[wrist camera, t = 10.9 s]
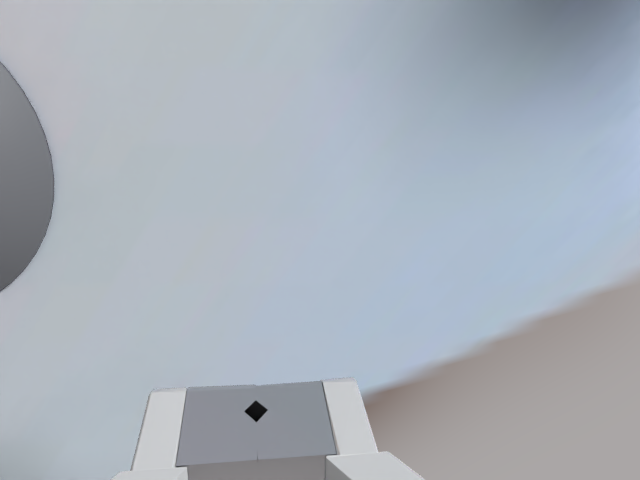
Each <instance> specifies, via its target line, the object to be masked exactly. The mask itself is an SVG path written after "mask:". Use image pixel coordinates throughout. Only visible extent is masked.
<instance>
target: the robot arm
mask: <svg viewBox="0 0 640 480" xmlns="http://www.w3.org/2000/svg"><path fill="white" fill-rule="evenodd" d="M111 480H425V479H424V478H422V477H421V476H420V475H419V474H417V473H416V472H415V471H413V470H412V469H411V468H409V467H408V466H407V465H406V464H404V463H403V462H402V461H400V460H399V459H398V458H396V457H395V456H394V455H392V454H391V453H390V452H378V449H377V446H376V443H375V440H374V436H373V433H372V430H371V427H370V424H369V420H368V417H367V414H366V410H365V408H364V404H363V401H362V398H361V394H360V391H359V388H358V385H357V381H356V380H355V379H354V378H353V377H347V378H336V379H325V380H321V381H313V382H298V383H282V384H267V385H233V386H206V387H189V388H186V387H183V388H165V389H153V391H152V392H151V393H150V395H149V397H148V401H147V405H146V409H145V413H144V417H143V421H142V425H141V430H140V434H139V438H138V442H137V446H136V450H135V454H134V458H133V462H132V466H131V470H130V471H124V472H118V473H117V474H116V475H115V476H114V477H113V478H112V479H111Z"/></svg>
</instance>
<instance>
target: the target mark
mask: <svg viewBox="0 0 640 480" xmlns="http://www.w3.org/2000/svg"><path fill="white" fill-rule="evenodd" d="M53 201H54V174H53V166H52V159H51V154H50V151H49V147H48V143H47V140H46V136H45V133H44V131H43V129H42V126H41V124H40V122H39V119H38V117H37V114H36V112H35V111H34V109H33V107H32V105H31V104H30V102H29V100H28V98H27V97H26V95H25V93H24V91H23V90H22V89H21V87H20V86H19V84H18V83H17V82H16V80H15V79H14V78H13V76H12V75H11V74H10V72H9V71H8V70H7V69H6V67H5V66H4V65H3V64H2V63H1V62H0V291H1V290H2V289H3V288H5V287H6V286H7V285H9V284H10V283H11V282H12V281H13V280H14V279H15V278H16V277H17V276H18V275H19V274H20V273H21V272H22V271H23V270H24V269H25V268H26V266H27V265H28V264H29V262H30V261H31V259H32V258H33V257H34V255H35V254H36V253H37V251H38V249H39V247H40V245H41V243H42V241H43V239H44V237H45V234H46V231H47V228H48V225H49V222H50V219H51V214H52V207H53Z"/></svg>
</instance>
